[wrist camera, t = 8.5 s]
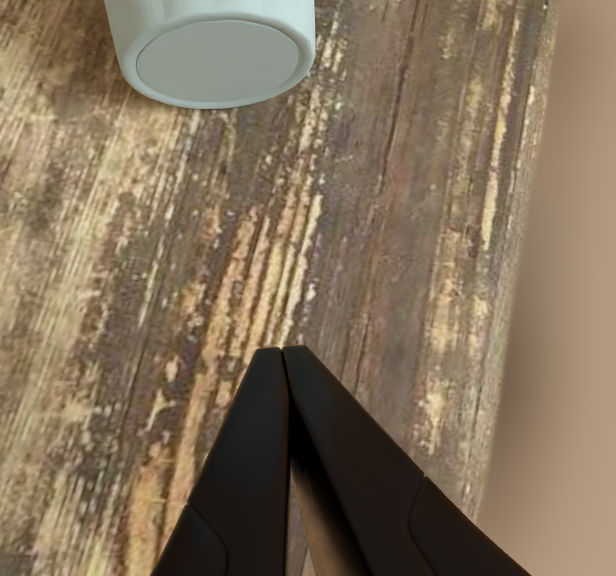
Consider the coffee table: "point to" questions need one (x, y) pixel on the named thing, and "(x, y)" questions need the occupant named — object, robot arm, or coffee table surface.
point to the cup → (212, 48)
